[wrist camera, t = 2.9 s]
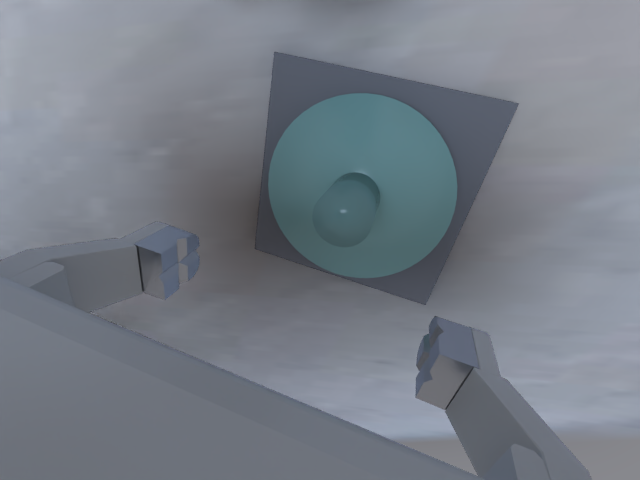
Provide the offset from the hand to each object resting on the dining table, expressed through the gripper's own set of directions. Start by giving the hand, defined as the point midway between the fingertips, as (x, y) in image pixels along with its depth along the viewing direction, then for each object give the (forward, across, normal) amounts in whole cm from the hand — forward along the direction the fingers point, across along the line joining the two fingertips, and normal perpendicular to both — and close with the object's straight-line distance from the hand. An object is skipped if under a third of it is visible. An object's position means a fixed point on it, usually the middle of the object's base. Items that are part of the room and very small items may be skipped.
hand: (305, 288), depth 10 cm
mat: (+13, 0, 0) cm, 13 cm away
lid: (+12, 0, 0) cm, 12 cm away
